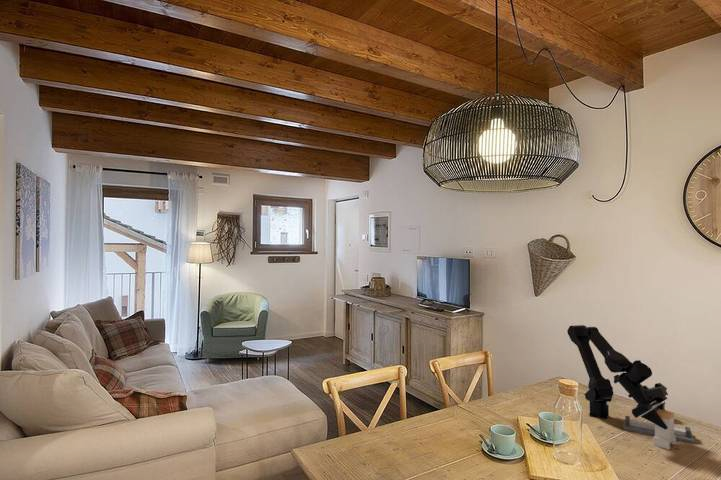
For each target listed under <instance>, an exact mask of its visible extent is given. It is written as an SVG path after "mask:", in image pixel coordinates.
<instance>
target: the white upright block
mask: <svg viewBox="0 0 721 480" xmlns="http://www.w3.org/2000/svg"><path fill="white" fill-rule="evenodd" d="M657 414H658V415H659V416H660V418H661V419H662V420H663V422H664V423H665V425H666V426H667V429H666V430H665V429H663V428H661V427H660V426H658V425H656V424H655V436H654V435H653V437H652V438H653V440H652V442H653V446H656V447H659V448H662V449H665V450H669V449H671V445H676V444H677V440H676V435H674V428H675V412H672V411H668V410H666V409H665V410H662V409H658V410H657Z"/></svg>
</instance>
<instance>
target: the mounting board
mask: <svg viewBox="0 0 721 480" xmlns="http://www.w3.org/2000/svg"><path fill="white" fill-rule="evenodd" d="M622 430H626V431H630V432H635V433H640V434H645V435H650V436H653V437H654V436H655V424H654V423H652V422H647V421H640V420H636V419H631V417H630V415H625V417H624V418H623V421H622ZM674 435H676V441H679V442H684V443H689V444H695V438H694V434H693V432H692V430H691V427H689V426H685V427H684V429H683V428H677V427H674Z"/></svg>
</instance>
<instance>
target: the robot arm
mask: <svg viewBox="0 0 721 480" xmlns="http://www.w3.org/2000/svg"><path fill="white" fill-rule="evenodd" d="M566 332H567V334H568V337H569V339H570V341H571V342H572V343H573V344H574V345H575V346H576V347H577V349H578V351H579V354H580V357H581V360H582V362H583V365H584V367H585V371H586V373H587V376H588V378H589V380H588V385H587V387H588V390H587V391H586V392H585V393H584V398H585V400H587V401H588V402H589V414H588V416H590V417H595V418H600V419H604V420H607V419H608V417H609V416H610V412H609V409H610V407H609V406H610V405H609V404H608V402H612V400H613V396H614V394H615V393H614V390H613V389H614V388H613V386H612V383H611V380H610V379H609V378H605V377H604V376H603V375H602V372H601V370H600V368H599V365H598V362H597V360H596V358H595V355H594V352H593V350H592V347H591V345H590V342H591V343H592V344H593V345H594V347H595V348H596V349H597V350H598V351H599V353H600V354H601V355H602V357H603V358H604V364H605V365H606V367H607V369H608V370H609V371H610V372H611V373H616V375H614V376H613V383H614V384H618V383H619V385H621V387H623V389H624V390H625V391H626V392H627V393H628V395H627V396H628V398H629V399H631V398H632V399H633V400H634V401H635V402H636V407H634V408H632V409H631V415H632V416H633V417H634V418H635V419H637V418H638V417H641V419H642V418H643V419H644V420H647V421H649V422H650V423H652V424H656V425H658V426H660V427H661V428H663V429H665V430H666V429H667V426H666V425H665V423H664V422H663V420H662V419H661V418H660V416H659V415H658V414H657V410H658V409H662V410H666V409H665V408H666V407H665V405H666V400H668V397H667V396H668V395H669V394H668V391H667V390H668V388H667V387H666V386H665V385H663V384H662V383H661V382H656V383H654V387H648V386H647V385H642V383H643V382H644V381H646V380H648V379H649V378H650V377H652V375H653V370H652V369H651V367H649V365H647V364H645V363H642V361H641V360H640V359H637V360H634V361H633V362H632V361H630V360H629V358H628V357H626V356H625V355H624V354H623V353H621V352H618V351H617V350H615V349H614V347H612V345H611V344H610V342H608V341H607V339H606V338H605V337H604V336H603V335H602V333H600V331H599V329H598V327H595V326H586V325H584V324H578V325H569V327H568V329H567V331H566ZM618 373H621V374H618ZM661 402H662V403H661ZM637 404H638V405H637ZM642 414H643V416H641V415H642Z"/></svg>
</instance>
